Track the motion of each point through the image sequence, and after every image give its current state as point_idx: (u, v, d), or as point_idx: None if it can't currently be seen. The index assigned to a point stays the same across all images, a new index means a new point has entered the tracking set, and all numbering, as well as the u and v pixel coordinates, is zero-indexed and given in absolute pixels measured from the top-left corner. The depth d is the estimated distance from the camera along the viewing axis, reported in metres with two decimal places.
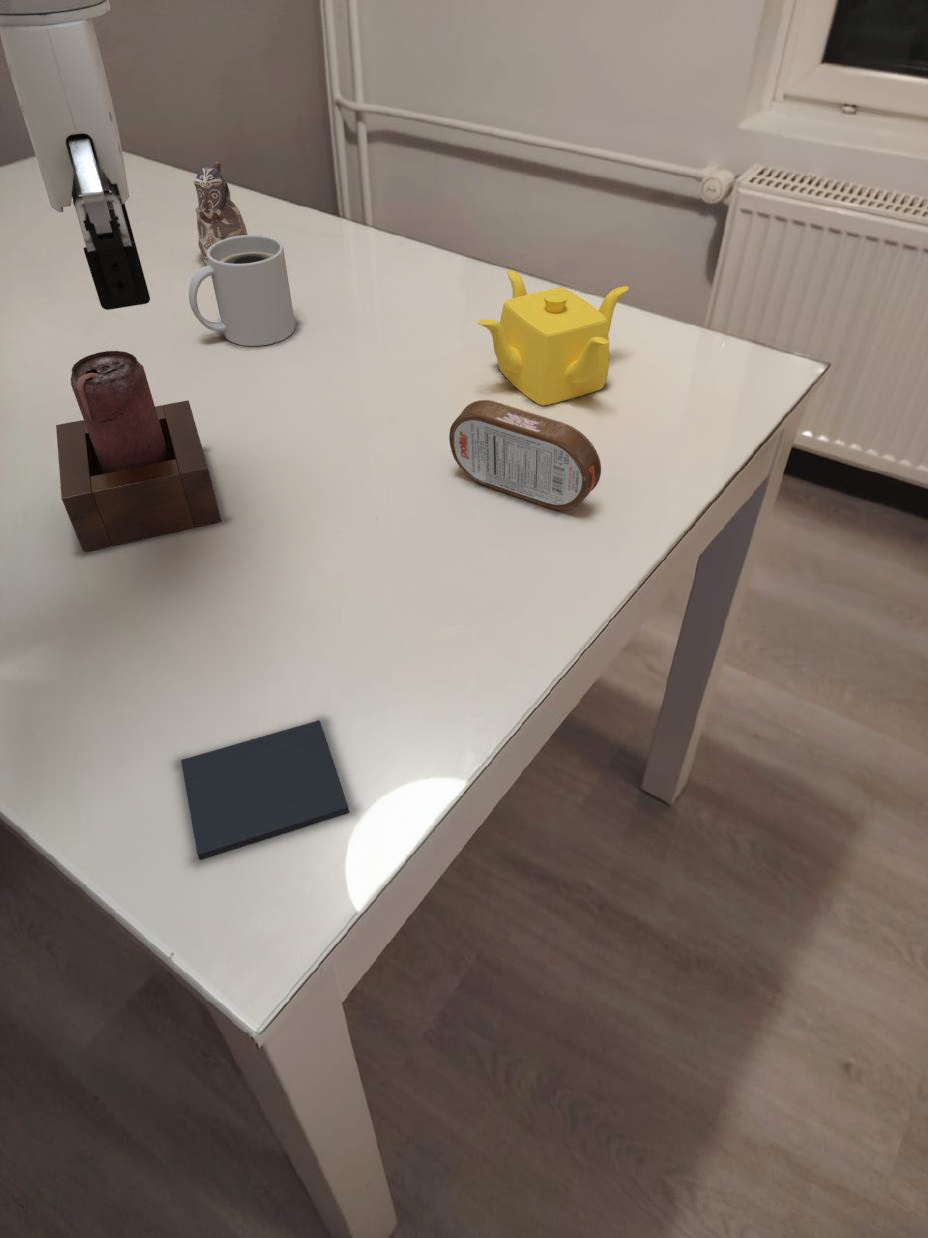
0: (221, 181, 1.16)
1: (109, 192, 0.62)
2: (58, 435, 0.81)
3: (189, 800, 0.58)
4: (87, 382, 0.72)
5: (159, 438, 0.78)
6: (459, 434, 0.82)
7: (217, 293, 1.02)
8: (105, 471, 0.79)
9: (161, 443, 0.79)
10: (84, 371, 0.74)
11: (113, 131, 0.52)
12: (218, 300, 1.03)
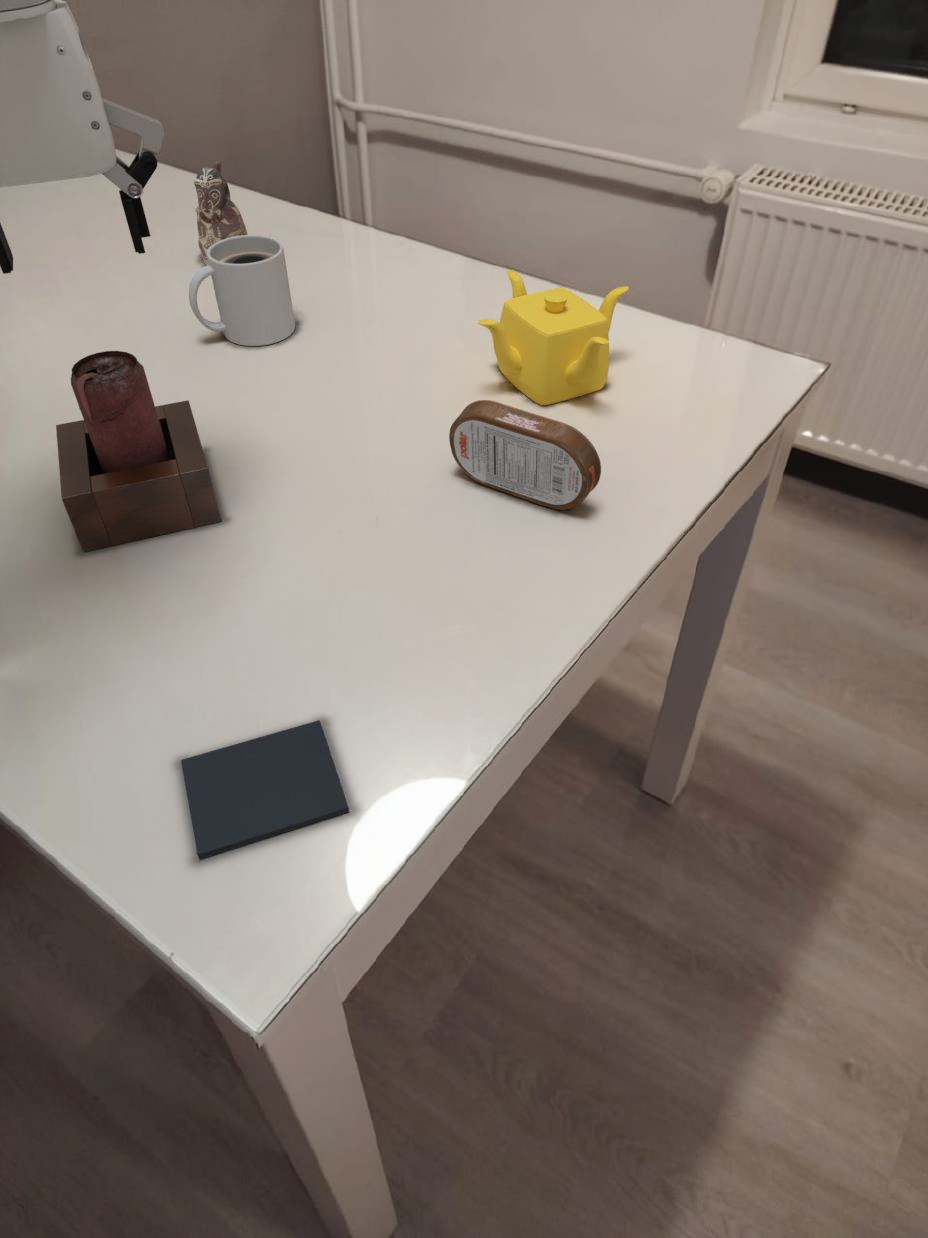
0: (221, 181, 1.16)
1: (122, 194, 0.64)
2: (58, 435, 0.81)
3: (189, 800, 0.58)
4: (87, 382, 0.72)
5: (159, 438, 0.78)
6: (459, 434, 0.82)
7: (217, 293, 1.02)
8: (105, 471, 0.79)
9: (161, 443, 0.79)
10: (84, 371, 0.74)
11: None
12: (218, 300, 1.03)
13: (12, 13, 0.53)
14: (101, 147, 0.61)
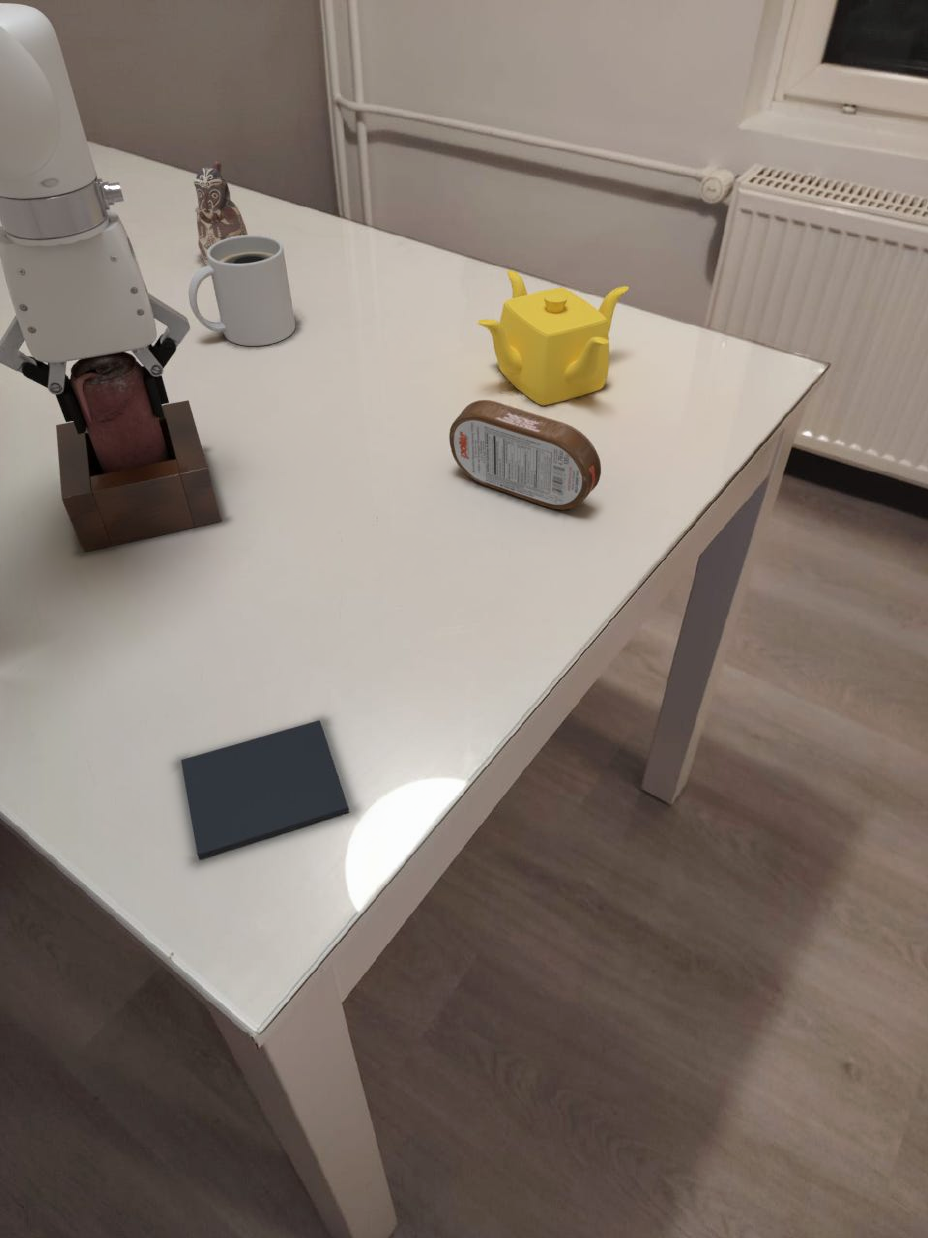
0: (221, 181, 1.16)
1: (146, 373, 0.75)
2: (58, 435, 0.81)
3: (189, 800, 0.58)
4: (86, 382, 0.72)
5: (159, 438, 0.78)
6: (459, 434, 0.82)
7: (217, 293, 1.02)
8: (105, 471, 0.79)
9: (160, 443, 0.79)
10: (83, 371, 0.74)
11: (22, 316, 0.67)
12: (218, 300, 1.03)
13: (75, 237, 0.63)
14: (144, 327, 0.71)
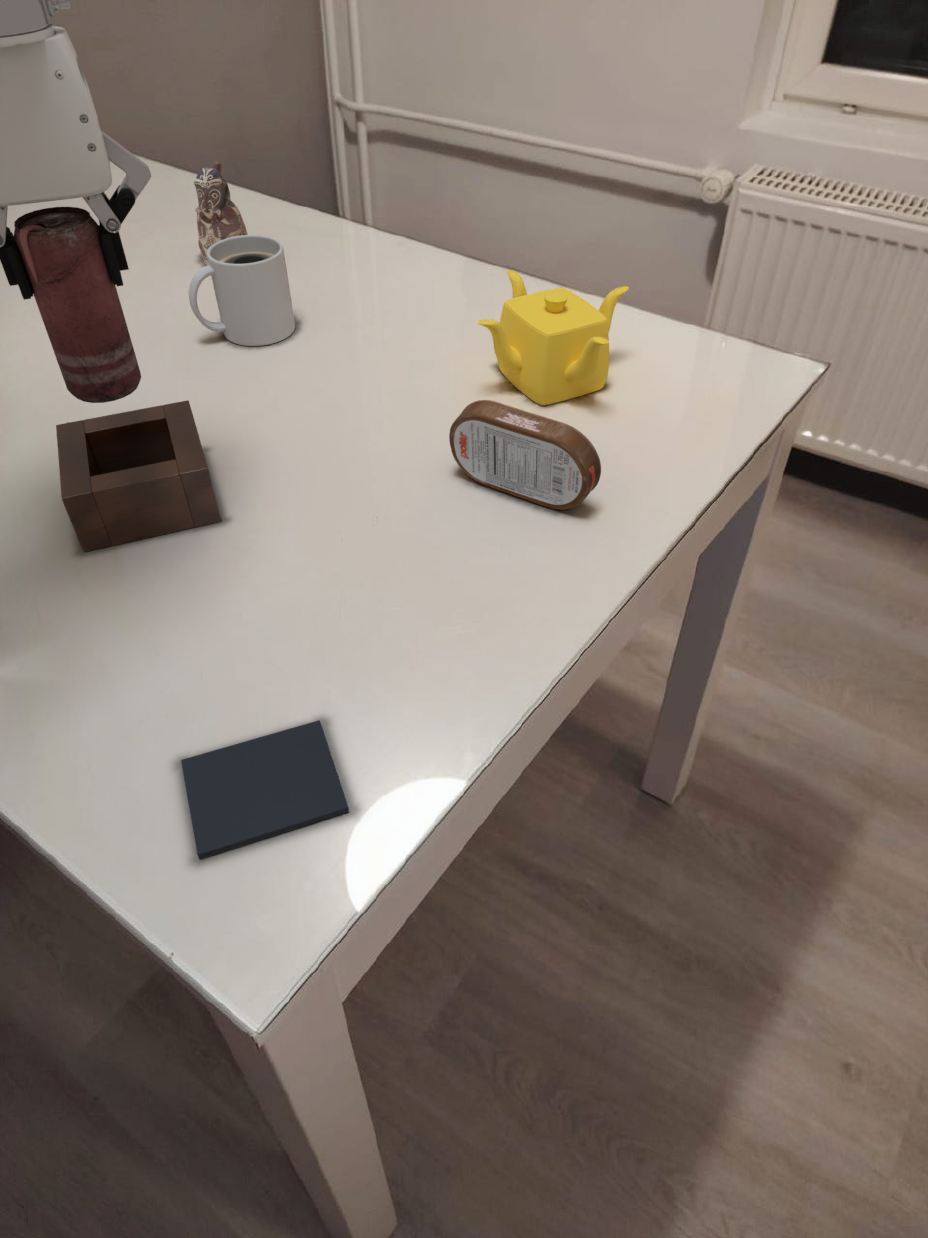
0: (221, 181, 1.16)
1: (101, 229, 0.66)
2: (58, 435, 0.81)
3: (189, 800, 0.58)
4: (31, 233, 0.63)
5: (117, 311, 0.69)
6: (459, 434, 0.82)
7: (217, 293, 1.02)
8: (56, 348, 0.70)
9: (119, 317, 0.70)
10: (29, 225, 0.65)
11: None
12: (218, 300, 1.03)
13: (12, 38, 0.55)
14: (97, 168, 0.62)
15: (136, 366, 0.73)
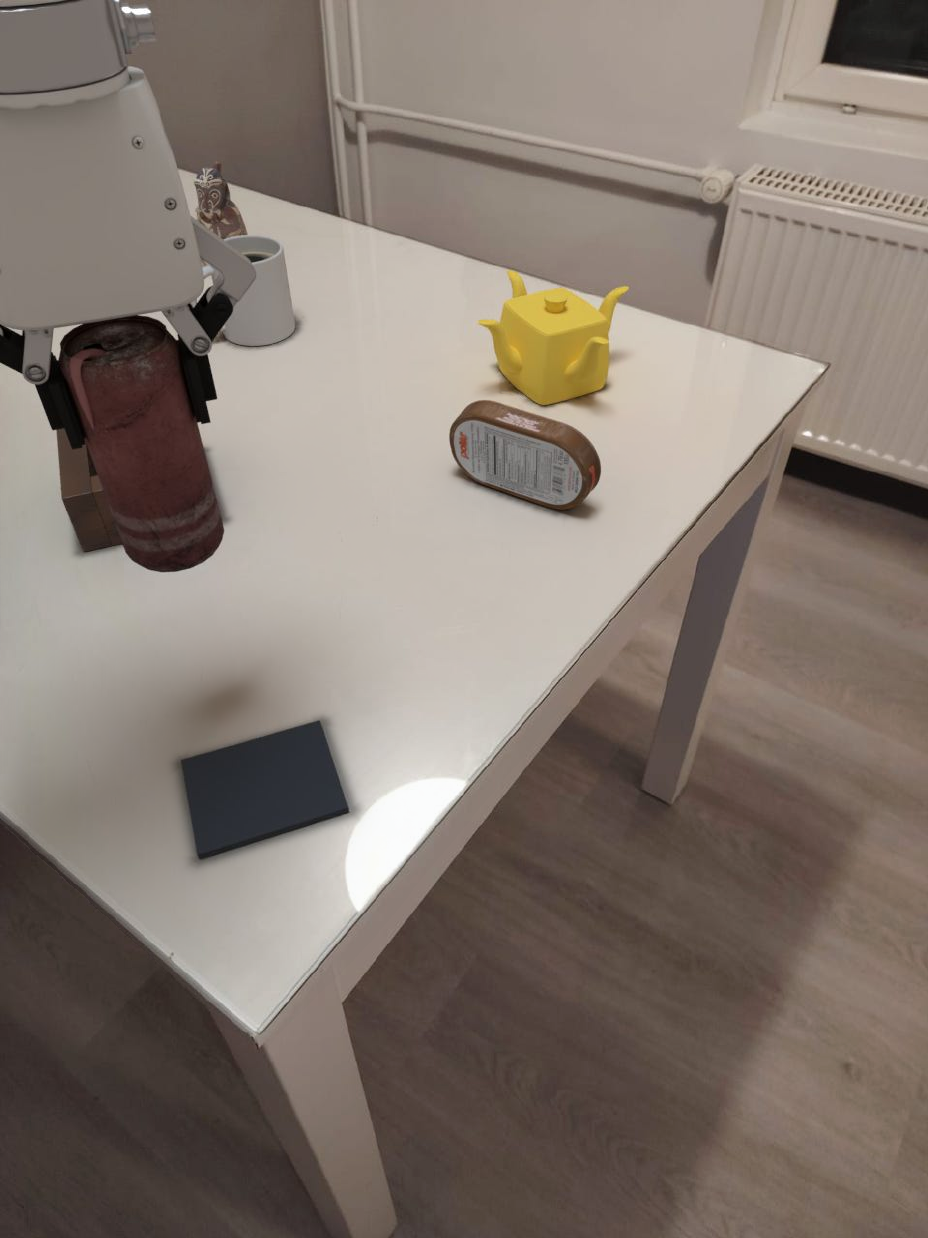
0: (221, 181, 1.16)
1: (183, 351, 0.46)
2: (58, 435, 0.81)
3: (189, 800, 0.58)
4: (87, 363, 0.43)
5: (200, 454, 0.50)
6: (459, 434, 0.82)
7: None
8: (114, 507, 0.50)
9: (201, 461, 0.50)
10: (81, 346, 0.45)
11: None
12: None
13: (71, 92, 0.35)
14: (185, 272, 0.42)
15: (219, 519, 0.54)
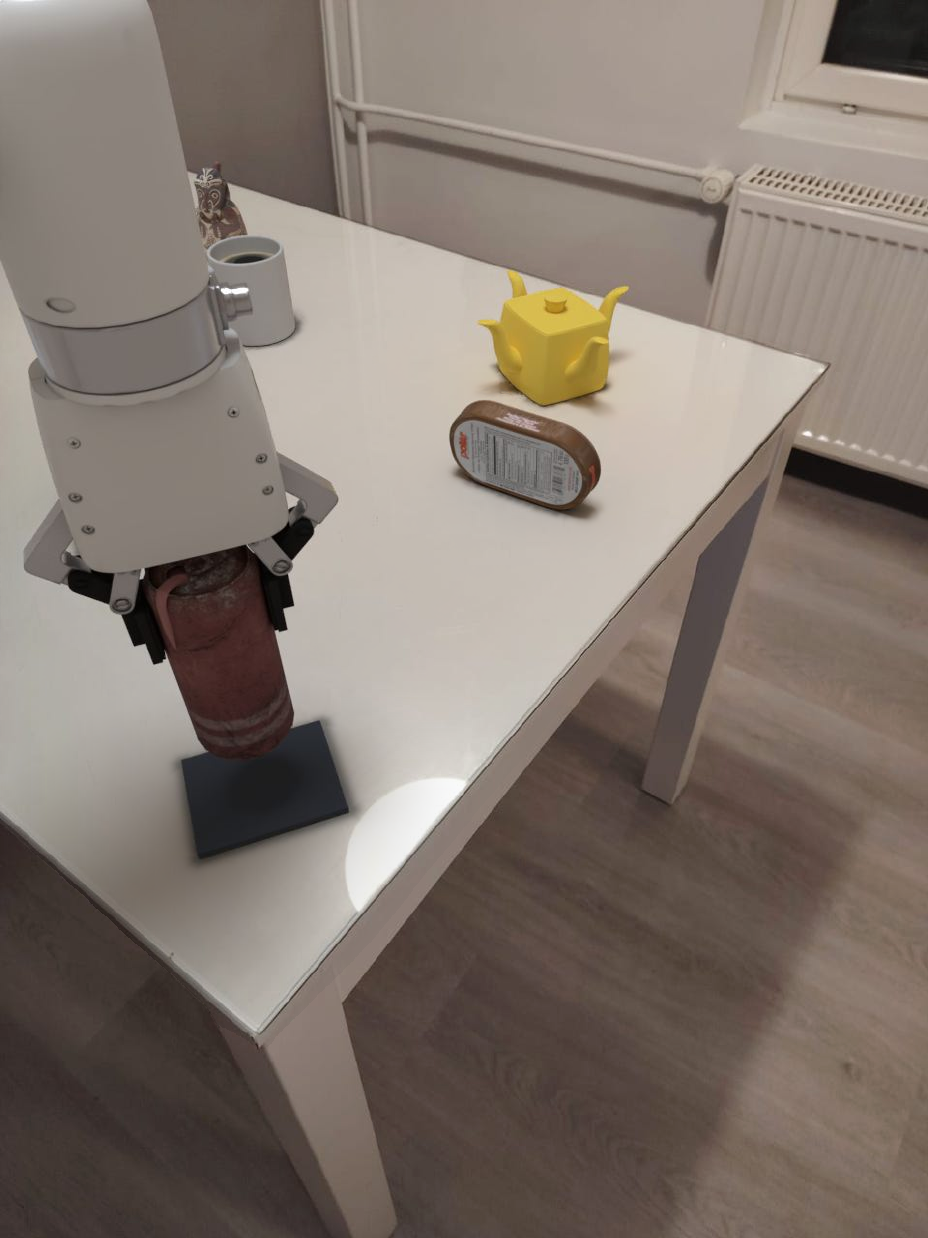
0: (221, 181, 1.16)
1: (264, 570, 0.46)
2: None
3: (189, 800, 0.58)
4: (172, 596, 0.44)
5: (275, 657, 0.50)
6: (459, 434, 0.82)
7: None
8: (190, 707, 0.50)
9: (277, 662, 0.50)
10: (164, 570, 0.46)
11: (73, 511, 0.39)
12: None
13: (174, 387, 0.35)
14: (271, 511, 0.43)
15: (290, 705, 0.54)
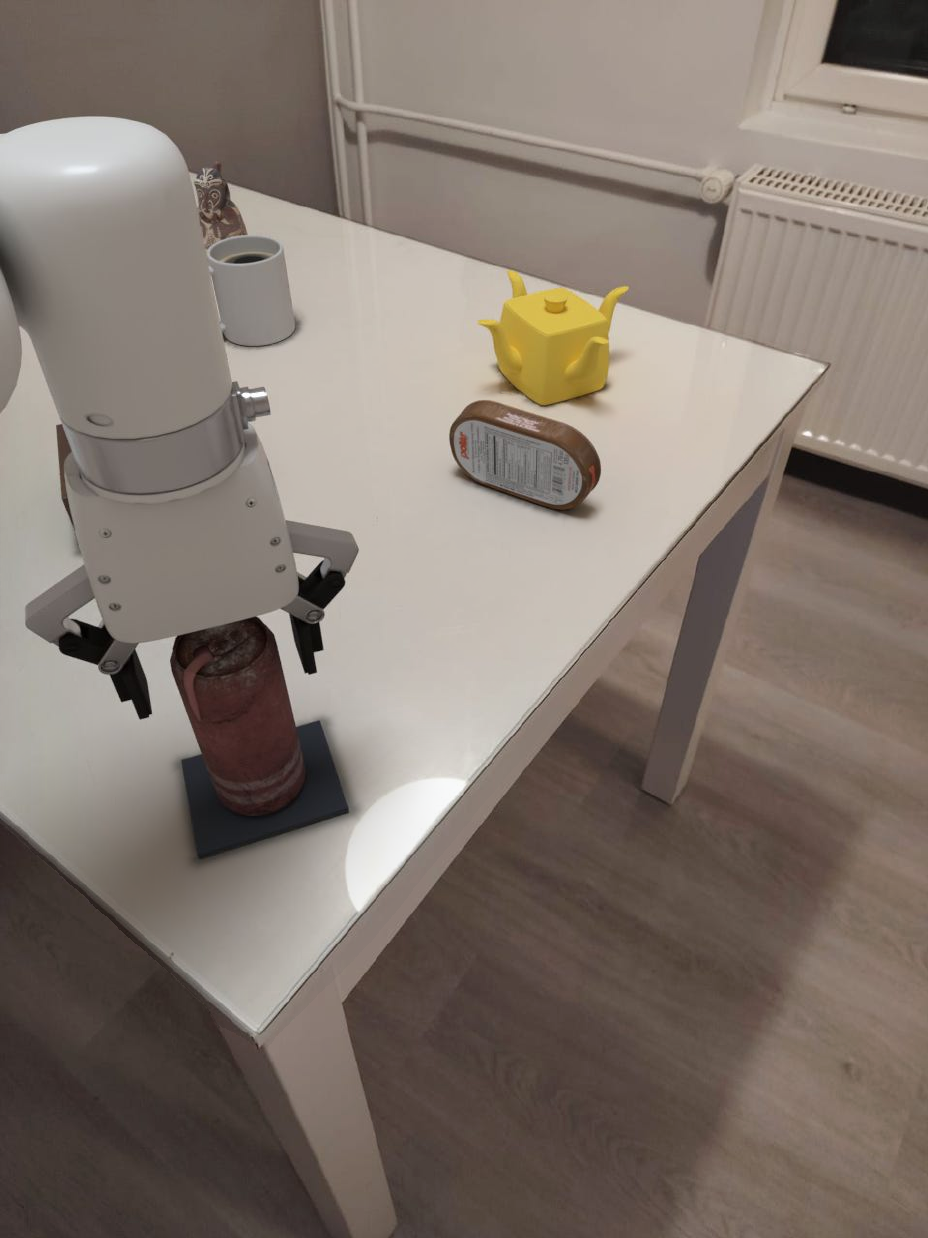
0: (221, 181, 1.16)
1: (297, 618, 0.49)
2: (58, 435, 0.81)
3: (189, 800, 0.58)
4: (199, 677, 0.48)
5: (290, 723, 0.54)
6: (459, 434, 0.82)
7: (217, 293, 1.02)
8: (211, 769, 0.55)
9: (291, 728, 0.55)
10: (190, 650, 0.50)
11: (102, 591, 0.42)
12: (218, 300, 1.03)
13: (199, 486, 0.38)
14: (283, 586, 0.46)
15: (302, 764, 0.58)
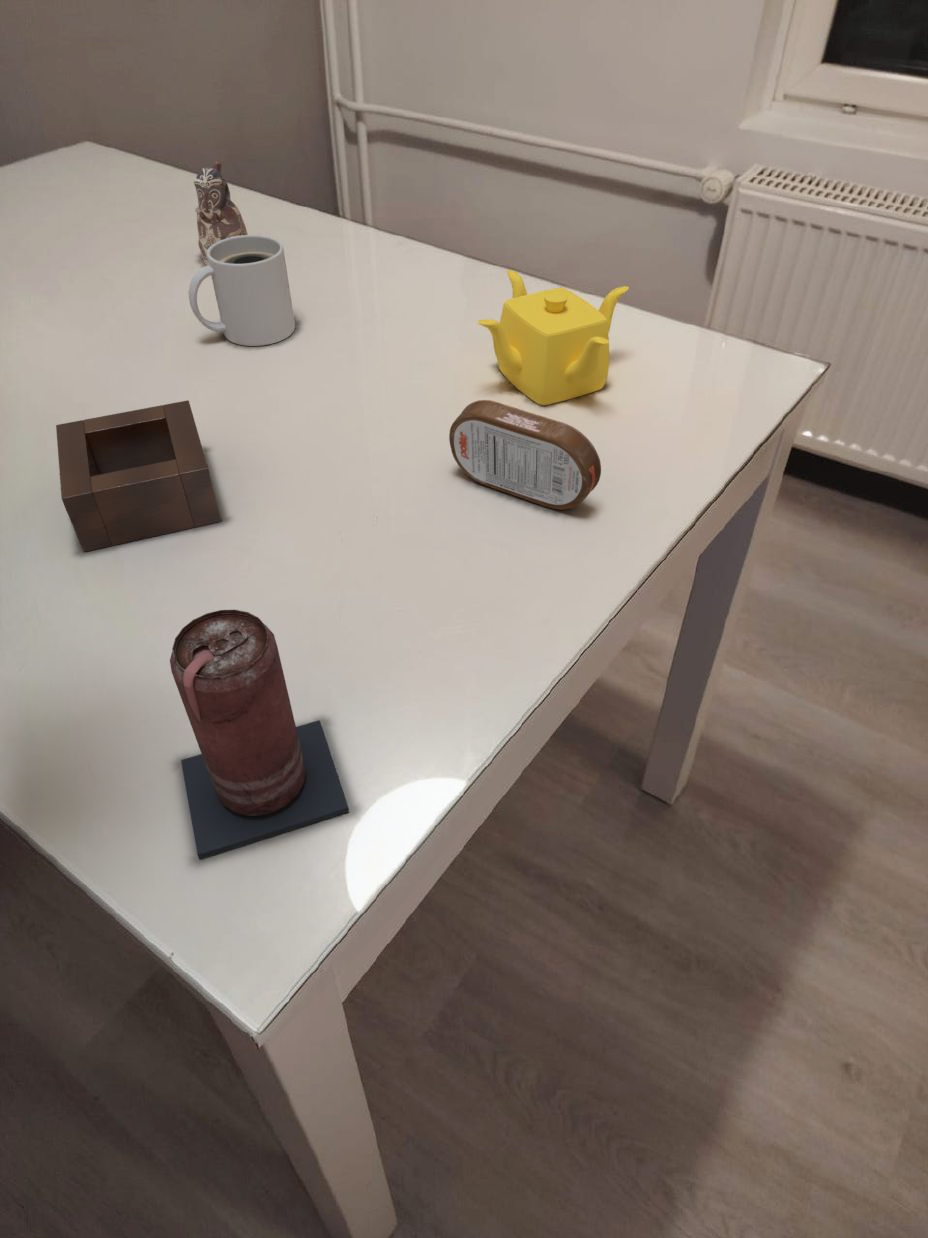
0: (221, 181, 1.16)
1: None
2: (58, 435, 0.81)
3: (189, 800, 0.58)
4: (199, 677, 0.48)
5: (290, 723, 0.54)
6: (459, 434, 0.82)
7: (217, 293, 1.02)
8: (211, 769, 0.55)
9: (291, 728, 0.55)
10: (190, 650, 0.50)
11: None
12: (218, 300, 1.03)
13: None
14: None
15: (302, 764, 0.58)
